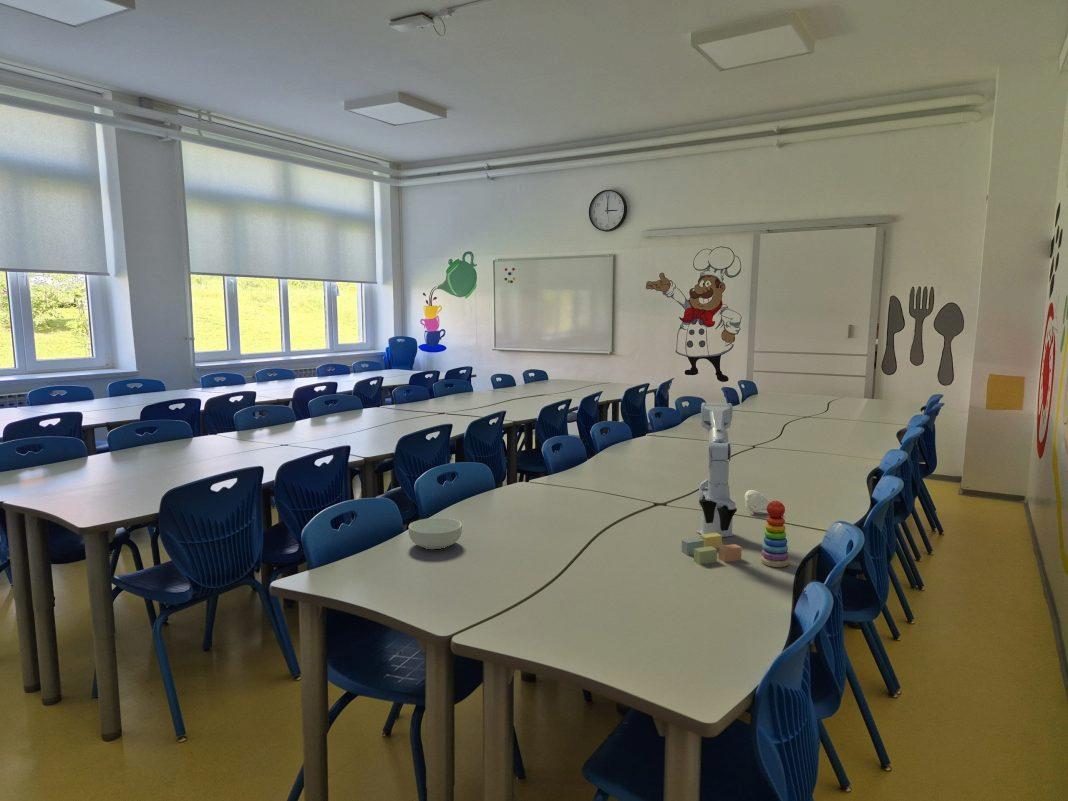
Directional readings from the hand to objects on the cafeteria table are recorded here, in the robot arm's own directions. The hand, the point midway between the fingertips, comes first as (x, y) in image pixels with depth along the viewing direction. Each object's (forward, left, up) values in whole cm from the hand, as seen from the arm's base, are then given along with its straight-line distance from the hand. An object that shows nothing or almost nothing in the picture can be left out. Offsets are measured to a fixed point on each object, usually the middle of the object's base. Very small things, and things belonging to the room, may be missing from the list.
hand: (716, 526), depth 200 cm
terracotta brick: (-3, +3, -10) cm, 11 cm away
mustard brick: (-4, -8, -10) cm, 13 cm away
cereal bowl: (+77, -40, -10) cm, 87 cm away
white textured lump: (-42, -32, -10) cm, 54 cm away
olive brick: (+5, +2, -10) cm, 11 cm away
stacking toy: (-13, +10, -10) cm, 19 cm away
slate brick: (+4, -6, -10) cm, 12 cm away
